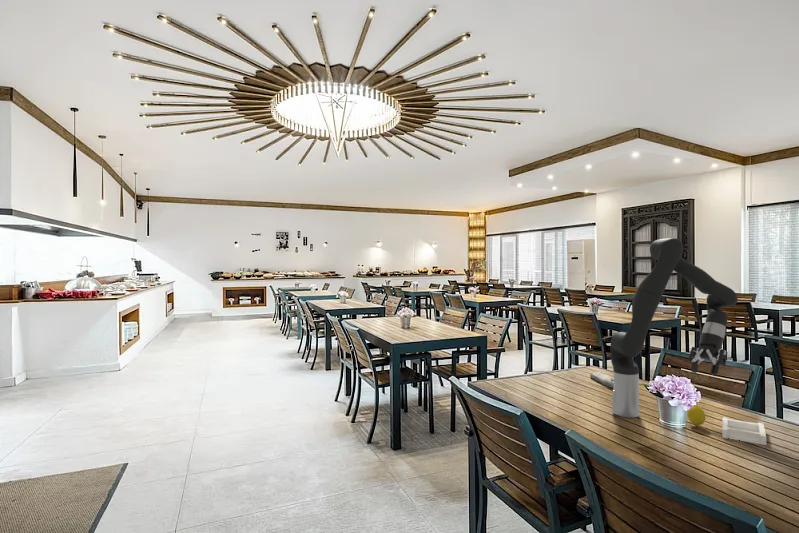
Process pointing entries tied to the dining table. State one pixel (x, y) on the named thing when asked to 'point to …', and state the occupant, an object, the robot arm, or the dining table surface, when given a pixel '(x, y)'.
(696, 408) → the lemon
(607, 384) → the elongated rock
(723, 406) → the dining table surface
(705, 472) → the dining table surface
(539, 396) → the dining table surface
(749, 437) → the tray
